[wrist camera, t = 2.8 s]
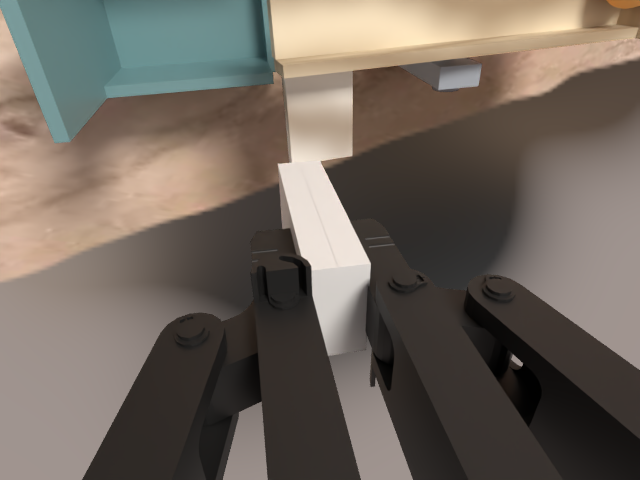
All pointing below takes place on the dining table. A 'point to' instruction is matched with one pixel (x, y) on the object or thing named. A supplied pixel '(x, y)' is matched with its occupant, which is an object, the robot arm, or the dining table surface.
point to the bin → (134, 50)
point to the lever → (407, 48)
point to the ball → (624, 3)
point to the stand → (447, 73)
